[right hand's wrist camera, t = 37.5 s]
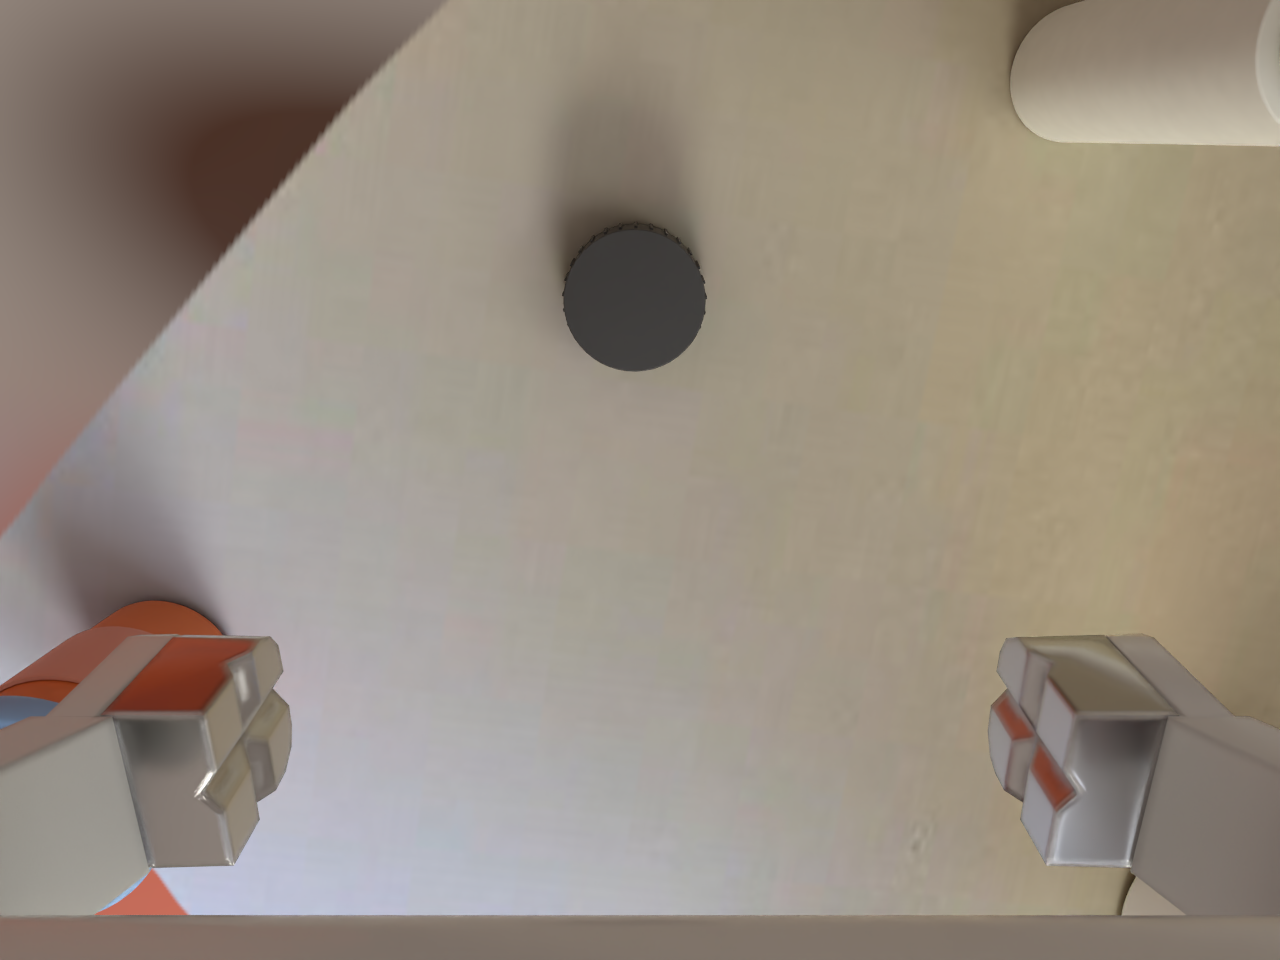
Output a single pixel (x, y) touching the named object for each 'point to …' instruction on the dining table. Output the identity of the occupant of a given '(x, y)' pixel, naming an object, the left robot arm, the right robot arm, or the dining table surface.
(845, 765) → the dining table surface
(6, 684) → the cup with straw
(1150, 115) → the white bottle
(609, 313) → the lid
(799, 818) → the dining table surface
